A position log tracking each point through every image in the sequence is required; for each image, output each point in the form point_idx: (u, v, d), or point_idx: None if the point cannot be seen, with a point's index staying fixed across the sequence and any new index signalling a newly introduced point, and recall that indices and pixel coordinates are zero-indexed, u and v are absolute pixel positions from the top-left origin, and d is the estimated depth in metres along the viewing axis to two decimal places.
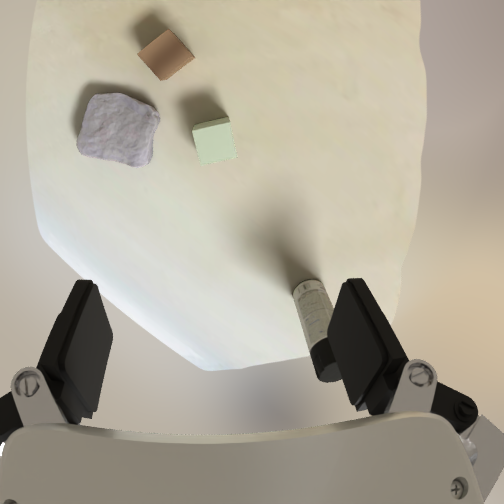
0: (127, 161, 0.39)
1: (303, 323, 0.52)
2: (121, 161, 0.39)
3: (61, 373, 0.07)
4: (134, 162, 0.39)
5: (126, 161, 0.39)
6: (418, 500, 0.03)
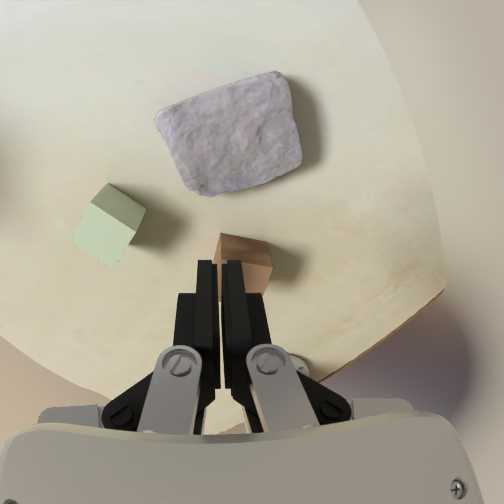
0: (183, 107, 0.22)
1: None
2: (193, 99, 0.22)
3: (213, 347, 0.08)
4: (171, 114, 0.22)
5: (185, 106, 0.22)
6: (418, 500, 0.03)
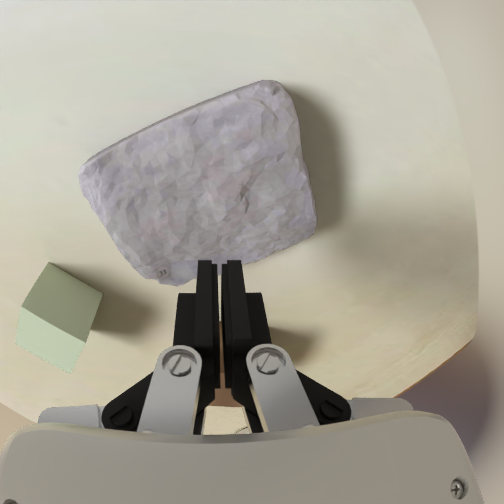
0: (115, 158, 0.13)
1: None
2: (129, 143, 0.13)
3: (213, 347, 0.08)
4: (97, 172, 0.13)
5: (117, 155, 0.13)
6: (418, 500, 0.03)
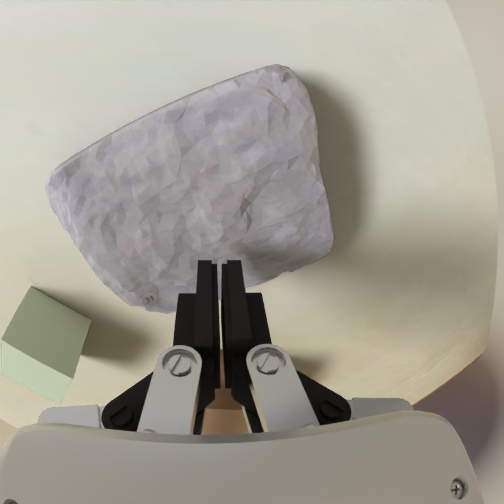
0: (84, 166, 0.10)
1: None
2: (101, 146, 0.10)
3: (213, 347, 0.08)
4: (64, 183, 0.10)
5: (87, 162, 0.10)
6: (418, 500, 0.03)
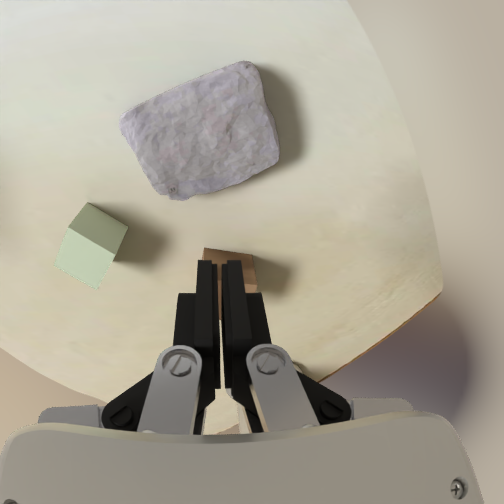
0: (146, 108, 0.20)
1: None
2: (156, 99, 0.20)
3: (213, 347, 0.08)
4: (134, 116, 0.20)
5: (148, 106, 0.20)
6: (418, 500, 0.03)
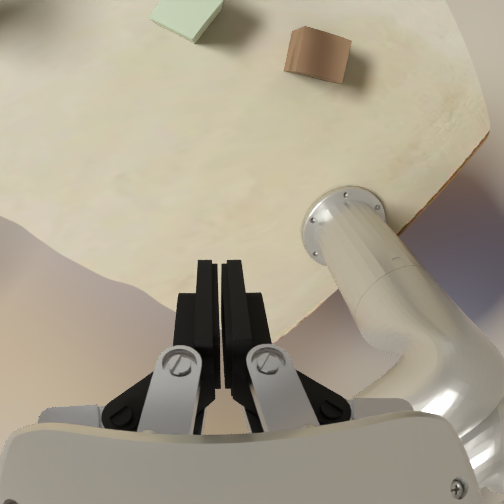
0: None
1: None
2: None
3: (213, 347, 0.08)
4: None
5: None
6: (418, 500, 0.03)
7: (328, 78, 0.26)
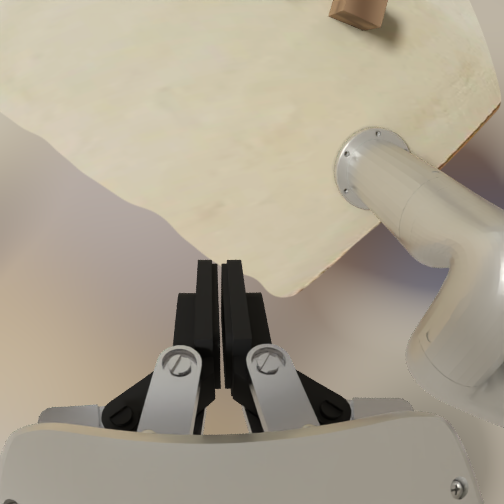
0: None
1: None
2: None
3: (213, 347, 0.08)
4: None
5: None
6: (418, 500, 0.03)
7: (369, 21, 0.25)
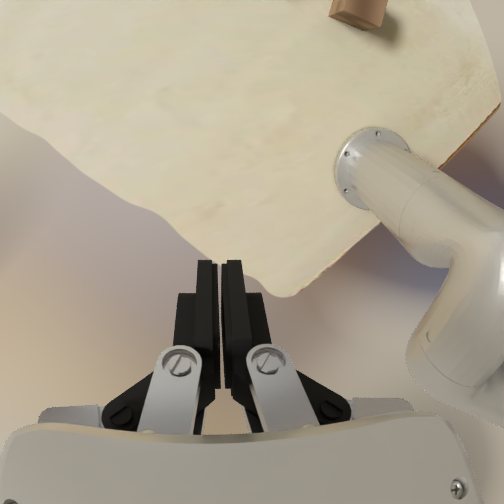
0: None
1: None
2: None
3: (212, 347, 0.08)
4: None
5: None
6: (418, 500, 0.03)
7: (369, 21, 0.25)
